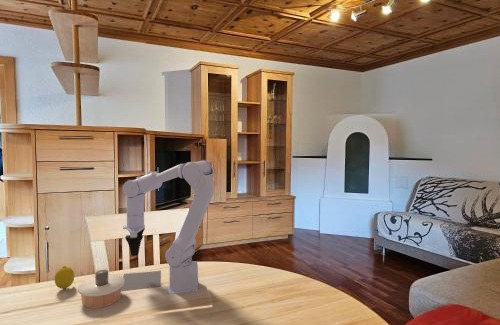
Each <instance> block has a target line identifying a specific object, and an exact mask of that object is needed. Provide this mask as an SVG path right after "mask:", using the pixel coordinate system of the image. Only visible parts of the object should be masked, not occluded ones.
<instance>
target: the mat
mask: <svg viewBox="0 0 500 325" xmlns="http://www.w3.org/2000/svg"><path fill="white" fill-rule="evenodd" d="M122 277H123V278H124V280H125V283H124V286H123V287H122V288H121V292H124V291H133V290H134V291H135V290H143V289H152V288H153V289H154V288H161V282H162V280H161V278H162V271H161V270H154V271H142V272H132V273H131V272H130V273H123V276H122Z"/></svg>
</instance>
